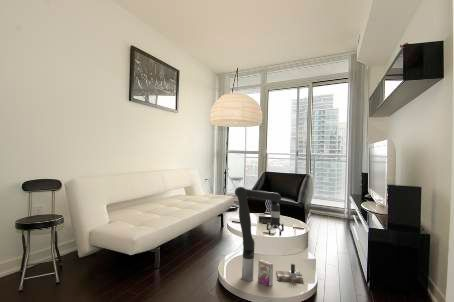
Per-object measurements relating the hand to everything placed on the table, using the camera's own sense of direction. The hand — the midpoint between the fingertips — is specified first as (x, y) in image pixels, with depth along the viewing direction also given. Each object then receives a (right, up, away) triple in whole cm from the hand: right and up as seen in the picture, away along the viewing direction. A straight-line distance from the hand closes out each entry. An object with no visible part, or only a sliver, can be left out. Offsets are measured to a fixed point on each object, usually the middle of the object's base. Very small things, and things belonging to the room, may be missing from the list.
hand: (274, 235), depth 201 cm
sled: (+13, -32, -4) cm, 35 cm away
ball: (+19, -31, -1) cm, 37 cm away
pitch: (+12, -35, -3) cm, 37 cm away
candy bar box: (-11, -33, -14) cm, 38 cm away
